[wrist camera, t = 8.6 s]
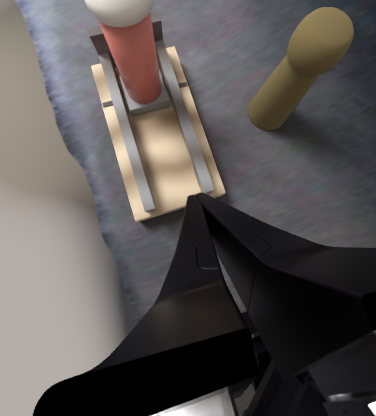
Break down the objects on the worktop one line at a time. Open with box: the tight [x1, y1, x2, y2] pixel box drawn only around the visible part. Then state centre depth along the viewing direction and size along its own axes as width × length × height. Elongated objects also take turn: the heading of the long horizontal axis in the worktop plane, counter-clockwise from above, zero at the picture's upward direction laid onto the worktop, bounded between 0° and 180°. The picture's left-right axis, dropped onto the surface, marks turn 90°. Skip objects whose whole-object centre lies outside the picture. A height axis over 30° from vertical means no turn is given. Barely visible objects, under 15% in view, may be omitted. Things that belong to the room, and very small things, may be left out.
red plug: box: [84, 0, 170, 116], centre depth 17 cm, size 5×5×10 cm
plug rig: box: [88, 13, 226, 222], centre depth 21 cm, size 22×12×6 cm, turn 18°
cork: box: [248, 7, 354, 131], centre depth 19 cm, size 6×6×11 cm
